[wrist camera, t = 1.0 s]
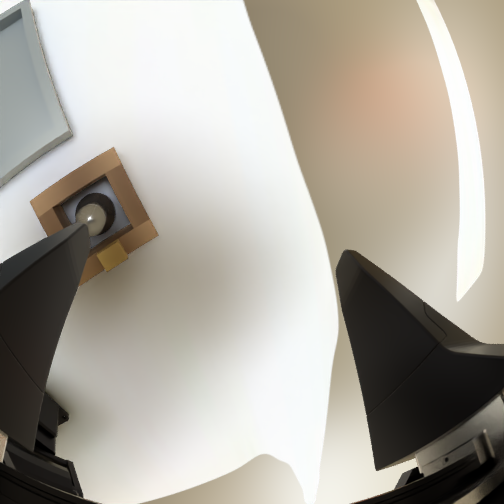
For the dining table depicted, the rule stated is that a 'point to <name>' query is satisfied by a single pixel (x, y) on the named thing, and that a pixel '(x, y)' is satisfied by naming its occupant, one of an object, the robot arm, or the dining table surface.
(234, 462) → the dining table surface
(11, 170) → the tray
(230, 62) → the dining table surface
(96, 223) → the metal knob
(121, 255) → the ring
